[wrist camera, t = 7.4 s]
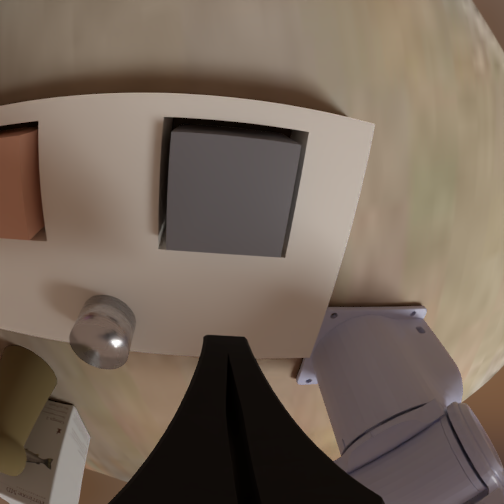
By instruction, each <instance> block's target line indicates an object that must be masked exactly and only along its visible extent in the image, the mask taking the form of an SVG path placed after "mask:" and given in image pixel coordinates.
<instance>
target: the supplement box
mask: <svg viewBox="0 0 504 504" xmlns="http://www.w3.org/2000/svg"><path fill="white" fill-rule="evenodd" d="M89 442H90V436H89V434H88V432H87V430H86V428H85V426H84V424H83V422H82V420H81V418H80V416H79V414H78V412H77V410H76V408H75V406H74V405H66V404H62V403H57V402H53V401H50V400H47V402H46V404H45V406H44V408H43V409H42V411H41V413H40V415H39V417H38V419H37V421H36V423H35V425H34V427H33V429H32V431H31V433H30V435H29V437H28V439H27V441H26V443H25V445H24V449H25V452H26V457H27V461H26V466H25V468H24V470H23V471H22V473H21V474H19V475H18V476H9V475H6V474H3V473H1V472H0V497H1V498H3V499H4V500H6V501H7V502H9V503H10V504H78V502H79V496H80V489H81V483H82V477H83V472H84V466H85V461H86V456H87V451H88V446H89Z"/></svg>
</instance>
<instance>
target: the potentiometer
mask: <svg viewBox="0 0 504 504" xmlns="http://www.w3.org/2000/svg"><path fill="white" fill-rule="evenodd" d="M135 327H136V318H135V315H134V313H133V312H132V310H131V309H130V308H129V306H128V305H126V304H125V303H124V302H123V301H121V300H119V299H118V298H115V297H113V296H109V295H95V296H92V297H90V298H89V299H88V300H87V301H86V302H85V304H84V305H83V307H82V309H81V312H80V314H79V316H78V318H77V320H76V322H75V324H74V326H73V328H72V330H71V332H70V335H69V341H70V345H71V347H72V349H73V351H74V352H75V353H76V354H77V356H79V357H80V358H81V359H82V360H83V361H85V362H86V363H88V364H90V365H92V366H95V367H98V368H102V369H116V368H119V367H121V366H122V365H124V364H125V363H126V361H127V358H128V355H129V351H130V347H131V343H132V339H133V335H134V331H135Z"/></svg>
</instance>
